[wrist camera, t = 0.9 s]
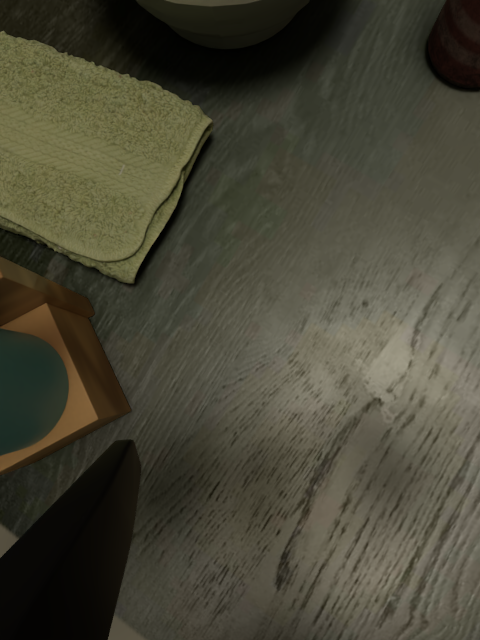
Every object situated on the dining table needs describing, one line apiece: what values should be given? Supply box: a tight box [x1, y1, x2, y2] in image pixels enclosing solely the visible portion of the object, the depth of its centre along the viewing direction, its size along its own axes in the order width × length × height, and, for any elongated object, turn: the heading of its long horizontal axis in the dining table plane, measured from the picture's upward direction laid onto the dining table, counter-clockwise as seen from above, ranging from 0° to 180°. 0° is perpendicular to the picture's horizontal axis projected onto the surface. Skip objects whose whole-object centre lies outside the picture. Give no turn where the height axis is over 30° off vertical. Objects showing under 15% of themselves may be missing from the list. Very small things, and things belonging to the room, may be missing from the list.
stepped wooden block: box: [0, 257, 131, 475], centre depth 19 cm, size 8×8×9 cm
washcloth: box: [0, 31, 213, 283], centre depth 24 cm, size 13×18×3 cm
